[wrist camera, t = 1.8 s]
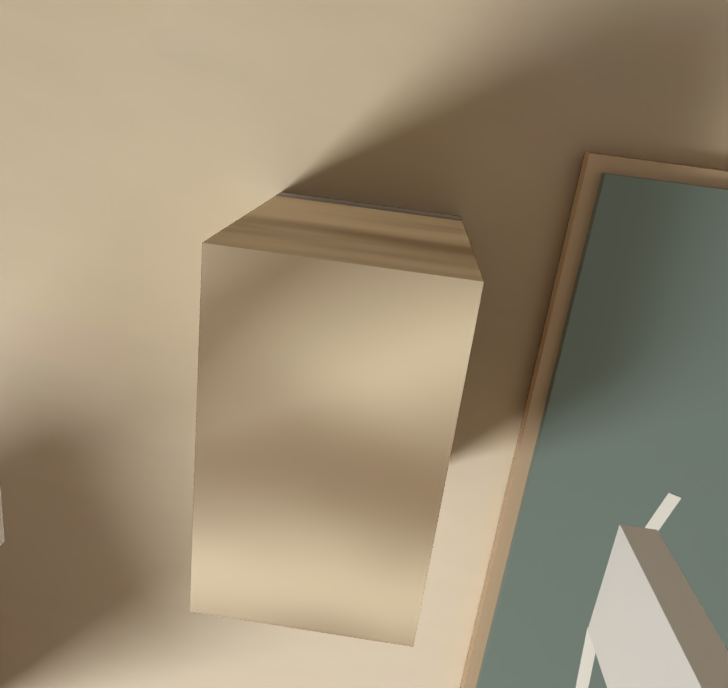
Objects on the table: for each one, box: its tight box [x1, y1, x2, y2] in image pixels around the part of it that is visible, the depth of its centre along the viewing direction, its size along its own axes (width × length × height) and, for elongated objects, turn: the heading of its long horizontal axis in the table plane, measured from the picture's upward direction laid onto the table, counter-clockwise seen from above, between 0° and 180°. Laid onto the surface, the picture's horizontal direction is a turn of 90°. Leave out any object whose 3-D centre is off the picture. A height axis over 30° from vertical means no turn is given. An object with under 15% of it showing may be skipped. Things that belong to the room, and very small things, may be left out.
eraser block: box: [190, 192, 484, 647], centre depth 19 cm, size 10×6×8 cm, turn 173°
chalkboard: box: [460, 152, 728, 688], centre depth 25 cm, size 27×13×1 cm, turn 173°
